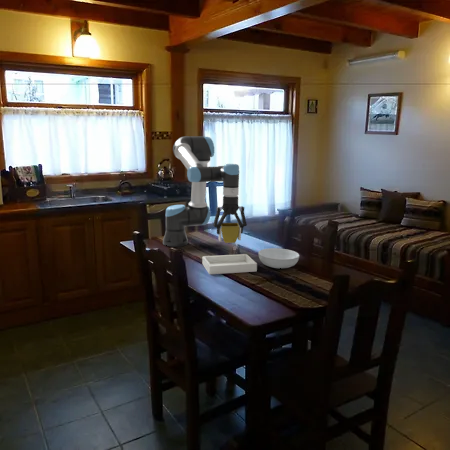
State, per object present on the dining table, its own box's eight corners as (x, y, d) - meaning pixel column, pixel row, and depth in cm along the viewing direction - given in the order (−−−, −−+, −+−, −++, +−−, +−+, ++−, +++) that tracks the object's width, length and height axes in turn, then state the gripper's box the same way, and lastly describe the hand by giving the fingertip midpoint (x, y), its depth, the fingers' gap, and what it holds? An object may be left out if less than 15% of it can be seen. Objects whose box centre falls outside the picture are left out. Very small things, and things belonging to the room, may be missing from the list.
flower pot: (221, 244, 210) (221, 226, 208) (220, 239, 218) (220, 222, 216) (238, 244, 210) (239, 226, 208) (237, 239, 219) (238, 222, 217)
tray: (202, 263, 222) (202, 256, 221) (246, 261, 228) (246, 254, 227) (209, 274, 206) (209, 266, 205) (256, 271, 212) (256, 263, 211)
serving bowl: (297, 274, 210) (298, 260, 208) (255, 270, 214) (256, 257, 212) (299, 261, 230) (300, 249, 228) (260, 258, 234) (261, 246, 232)
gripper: (210, 197, 203) (209, 243, 208) (254, 196, 209) (252, 241, 213) (207, 195, 210) (206, 239, 215) (249, 194, 216) (248, 237, 220)
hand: (229, 240), depth 214 cm, fingers closed on flower pot, 9 cm apart
